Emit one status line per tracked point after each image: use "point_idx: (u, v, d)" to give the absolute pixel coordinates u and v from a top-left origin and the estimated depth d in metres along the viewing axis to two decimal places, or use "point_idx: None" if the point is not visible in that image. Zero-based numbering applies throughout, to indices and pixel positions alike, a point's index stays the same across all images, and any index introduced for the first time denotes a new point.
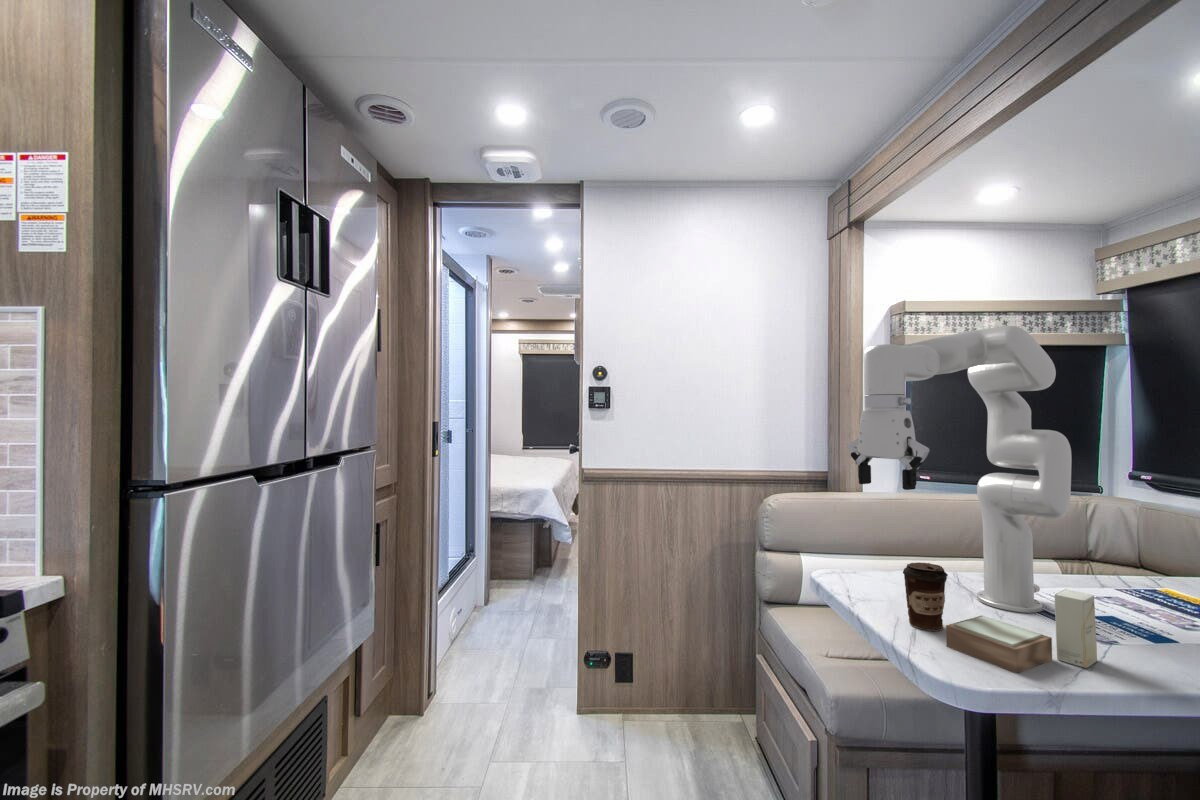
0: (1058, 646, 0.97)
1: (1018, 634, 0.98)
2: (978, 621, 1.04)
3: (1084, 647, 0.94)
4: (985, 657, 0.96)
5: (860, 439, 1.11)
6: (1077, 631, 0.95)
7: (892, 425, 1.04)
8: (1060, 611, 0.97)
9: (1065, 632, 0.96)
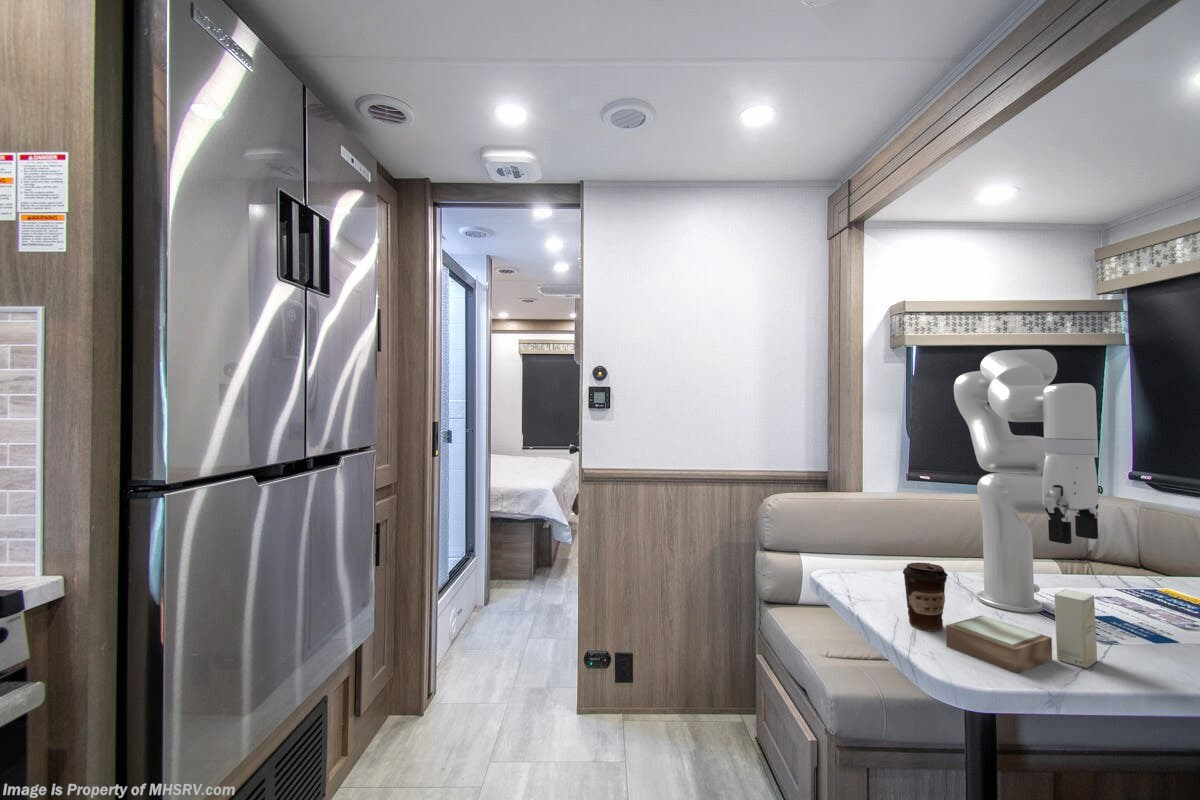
0: (1058, 646, 0.97)
1: (1018, 634, 0.98)
2: (978, 621, 1.04)
3: (1084, 647, 0.94)
4: (985, 657, 0.96)
5: (1074, 491, 0.94)
6: (1077, 631, 0.95)
7: (1095, 472, 0.97)
8: (1060, 610, 0.97)
9: (1065, 632, 0.96)
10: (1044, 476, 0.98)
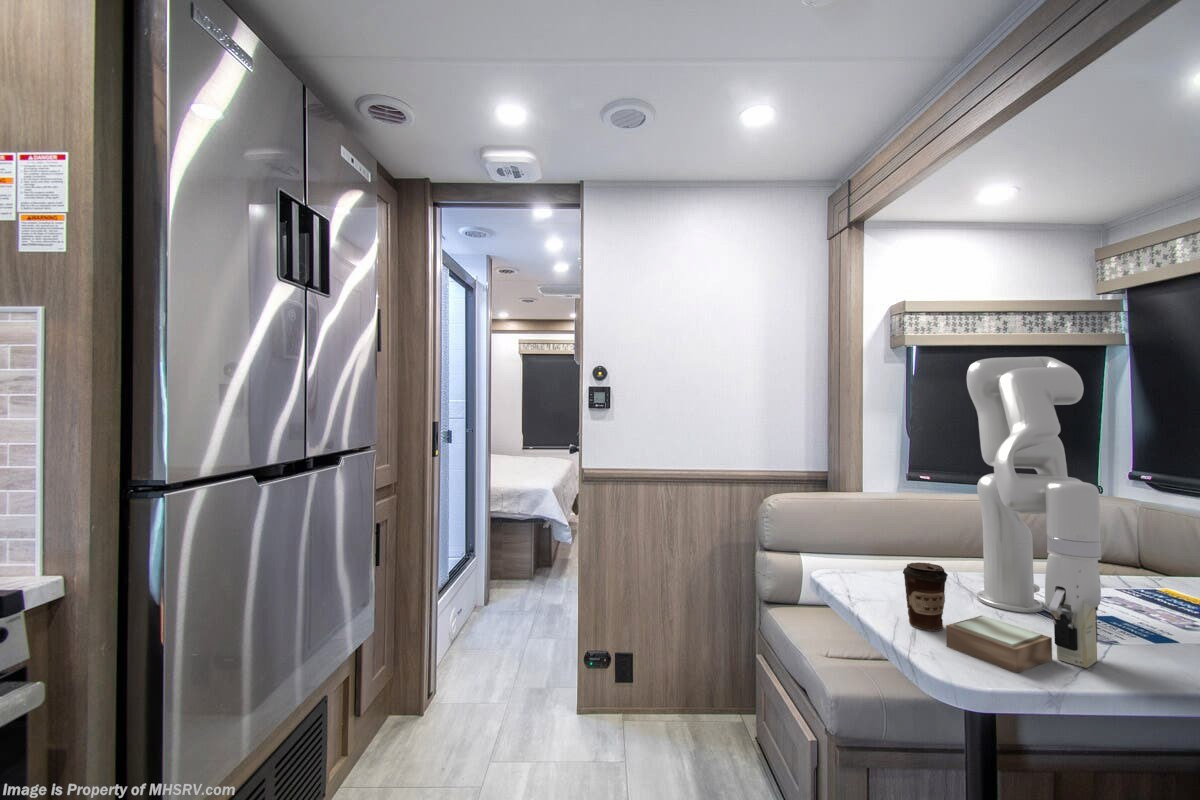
0: (1058, 646, 0.97)
1: (1018, 634, 0.98)
2: (978, 621, 1.04)
3: (1084, 647, 0.94)
4: (985, 657, 0.96)
5: (1077, 594, 0.94)
6: (1077, 631, 0.95)
7: (1097, 572, 0.97)
8: None
9: None
10: (1046, 575, 0.97)
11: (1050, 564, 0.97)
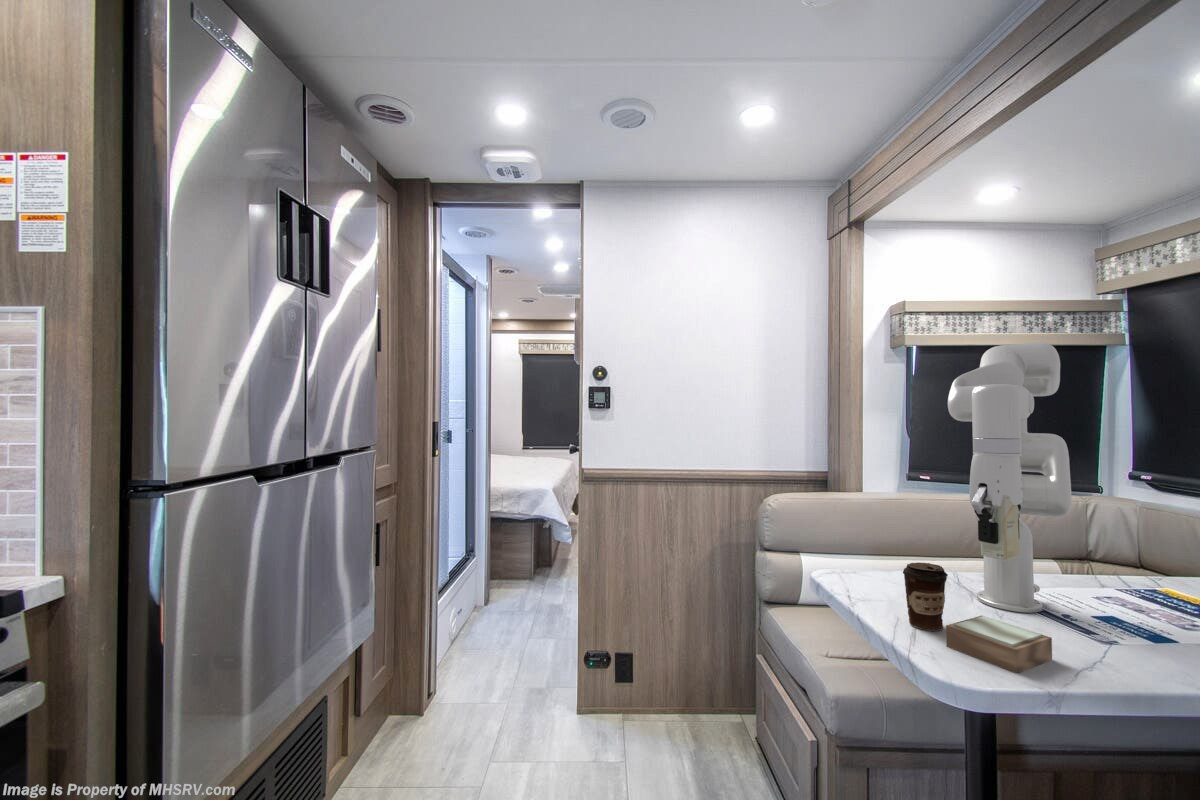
0: (982, 542, 1.00)
1: (1018, 634, 0.98)
2: (978, 621, 1.04)
3: (1005, 540, 0.97)
4: (985, 657, 0.96)
5: (997, 489, 0.97)
6: (999, 525, 0.98)
7: (1019, 470, 1.00)
8: None
9: None
10: (971, 474, 1.01)
11: (974, 463, 1.00)
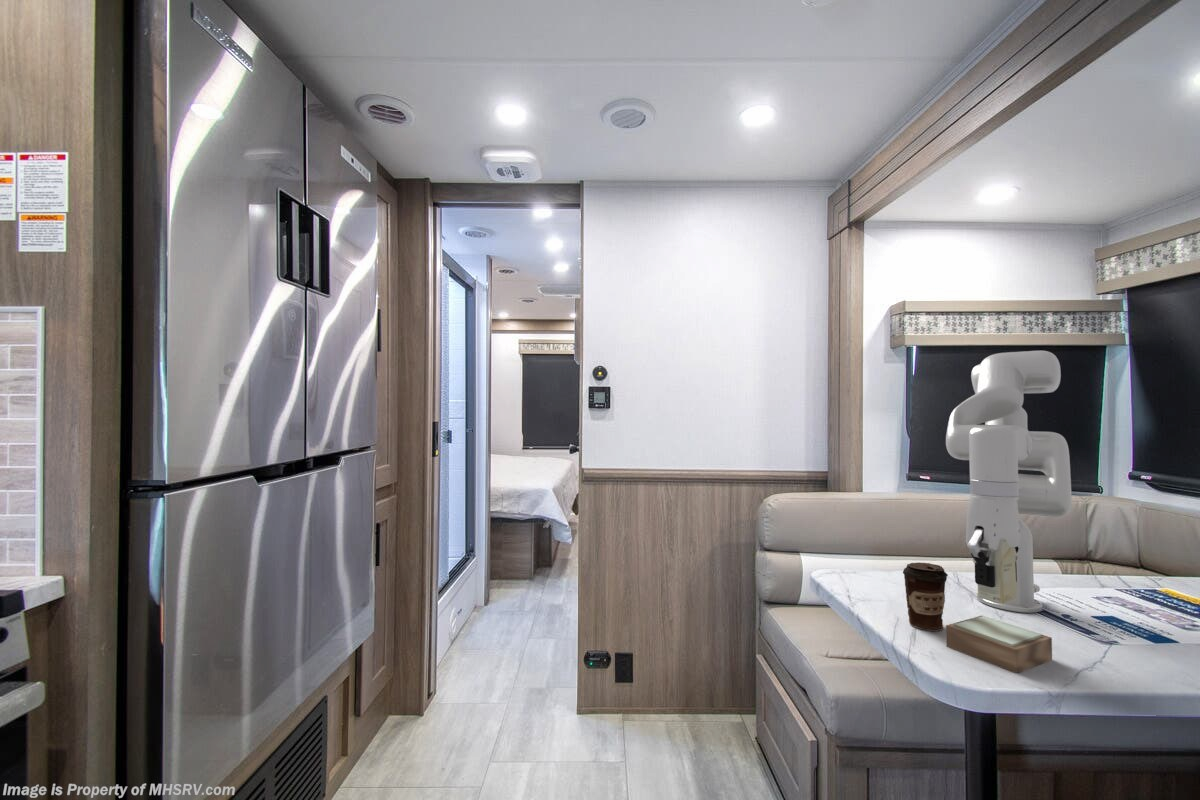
0: (979, 585, 1.00)
1: (1018, 634, 0.98)
2: (978, 621, 1.04)
3: (1001, 584, 0.97)
4: (985, 657, 0.96)
5: (994, 532, 0.97)
6: (995, 569, 0.98)
7: (1016, 513, 1.00)
8: None
9: None
10: (968, 516, 1.01)
11: (971, 505, 1.00)
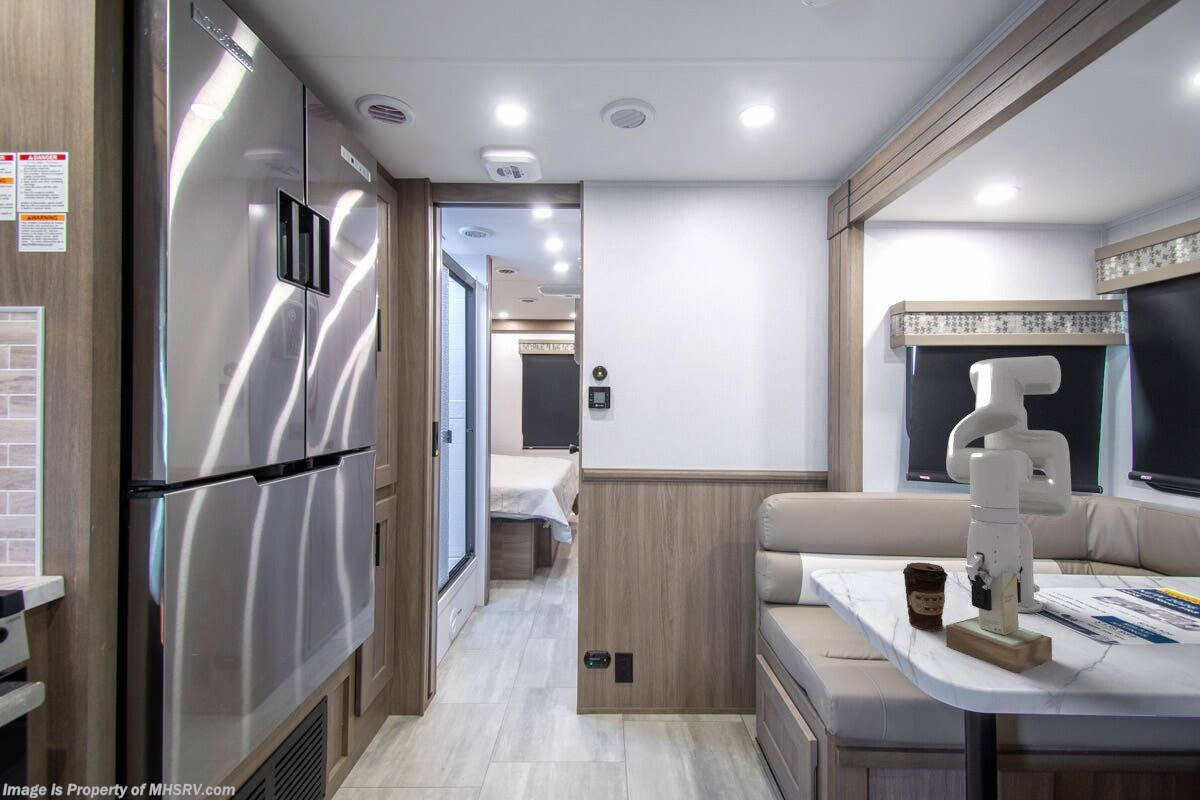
0: (980, 615, 1.00)
1: (1018, 634, 0.98)
2: (978, 621, 1.04)
3: (1002, 615, 0.97)
4: (985, 657, 0.96)
5: (995, 559, 0.97)
6: (996, 600, 0.98)
7: (1017, 538, 1.00)
8: None
9: None
10: (968, 542, 1.00)
11: (971, 531, 1.00)
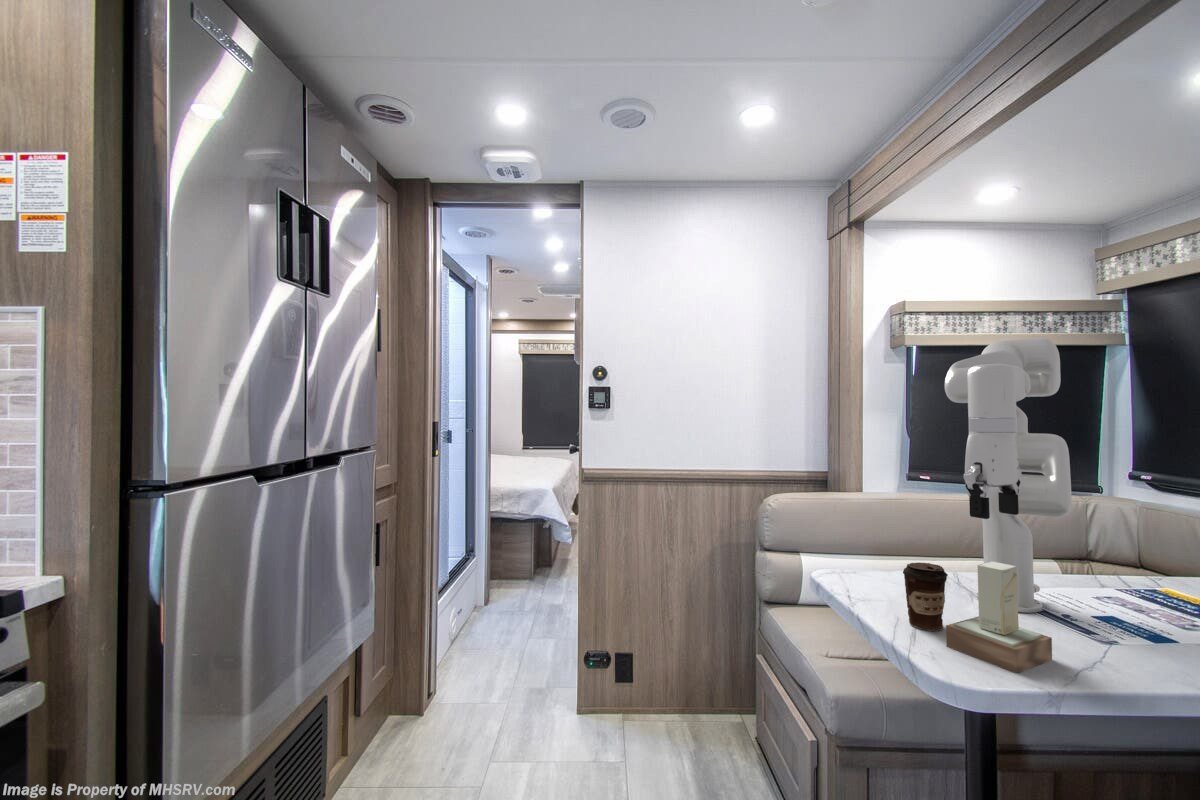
0: (980, 615, 1.00)
1: (1018, 634, 0.98)
2: (978, 621, 1.04)
3: (1002, 615, 0.97)
4: (985, 657, 0.96)
5: (992, 467, 0.97)
6: (996, 600, 0.98)
7: (1015, 450, 1.00)
8: (982, 580, 1.00)
9: (986, 601, 0.99)
10: (966, 454, 1.01)
11: (969, 443, 1.01)
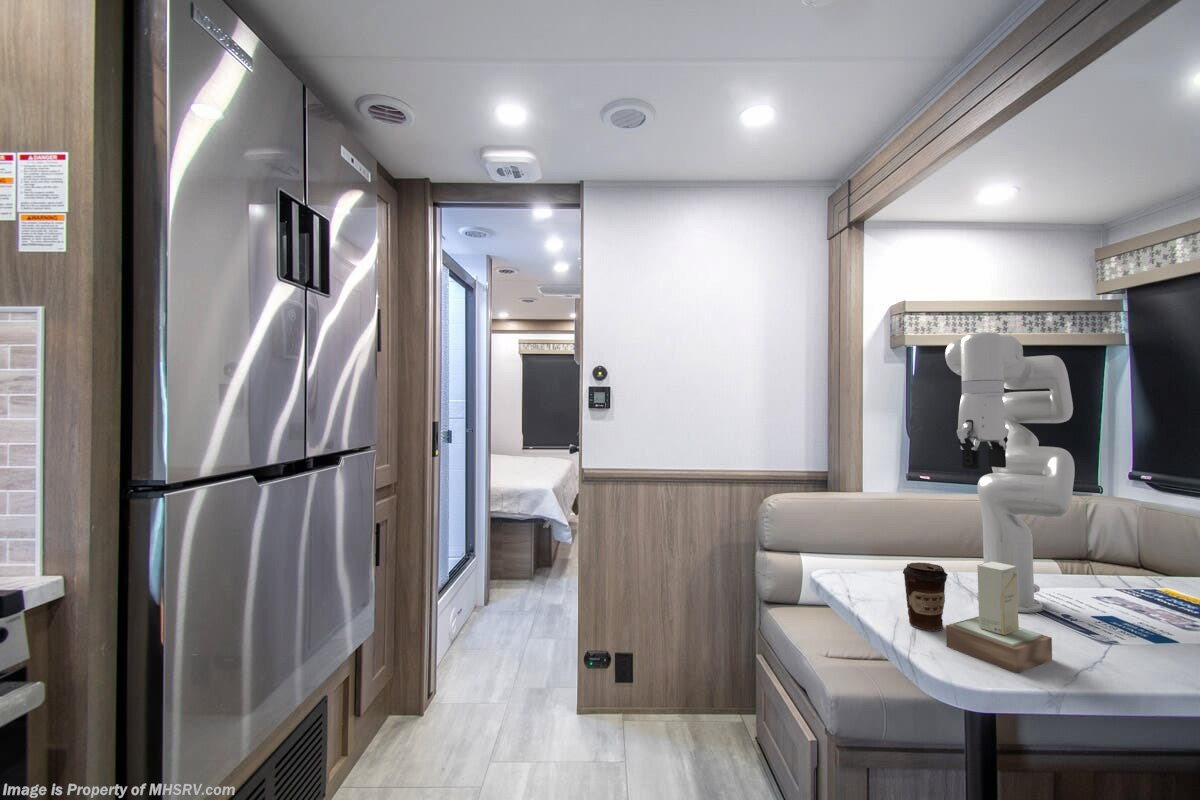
0: (980, 615, 1.00)
1: (1018, 634, 0.98)
2: (978, 621, 1.04)
3: (1002, 615, 0.97)
4: (985, 657, 0.96)
5: (982, 424, 1.10)
6: (996, 600, 0.98)
7: (1002, 409, 1.13)
8: (982, 580, 1.00)
9: (986, 601, 0.99)
10: (959, 413, 1.14)
11: (962, 403, 1.13)
